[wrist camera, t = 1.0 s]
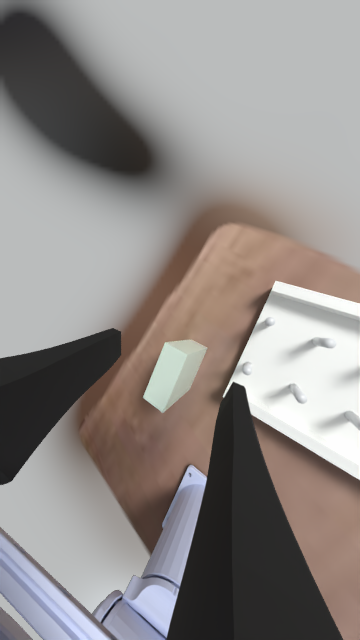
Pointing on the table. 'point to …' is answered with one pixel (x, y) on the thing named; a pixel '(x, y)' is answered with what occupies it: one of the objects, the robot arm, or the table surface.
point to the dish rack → (307, 372)
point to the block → (174, 373)
